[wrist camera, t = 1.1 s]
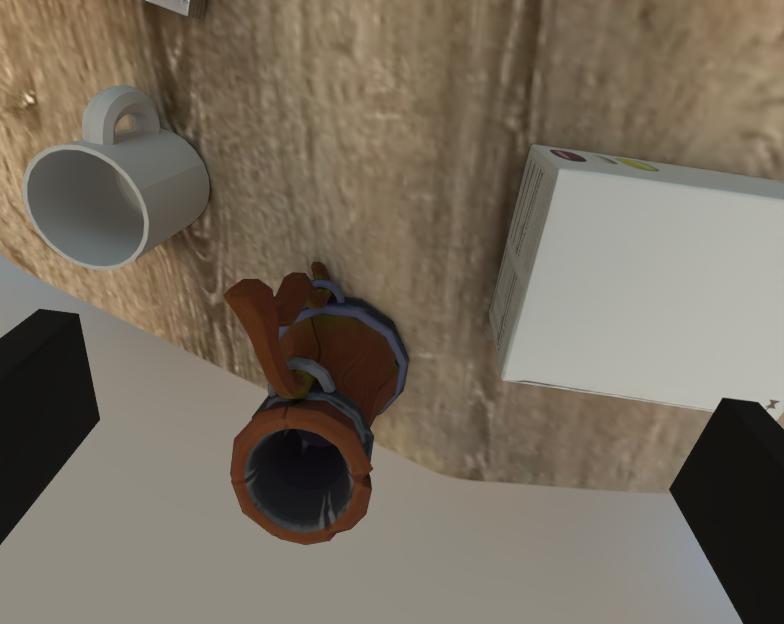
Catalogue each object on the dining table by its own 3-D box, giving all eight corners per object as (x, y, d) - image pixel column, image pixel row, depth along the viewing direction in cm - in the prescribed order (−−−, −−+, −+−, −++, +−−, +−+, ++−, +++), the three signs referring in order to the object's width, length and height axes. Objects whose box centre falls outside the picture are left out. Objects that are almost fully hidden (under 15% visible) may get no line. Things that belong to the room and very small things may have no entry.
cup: (117, 216, 38) (32, 257, 30) (107, 71, 34) (3, 74, 26) (211, 235, 38) (151, 281, 30) (214, 93, 34) (143, 103, 26)
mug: (235, 219, 37) (120, 308, 24) (388, 201, 36) (357, 285, 22) (289, 415, 45) (226, 565, 32) (418, 407, 43) (408, 562, 30)
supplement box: (788, 176, 33) (906, 216, 24) (705, 349, 39) (778, 428, 30) (529, 139, 33) (558, 165, 25) (486, 315, 39) (499, 385, 31)
